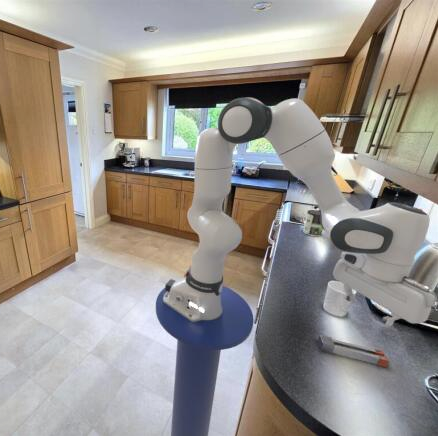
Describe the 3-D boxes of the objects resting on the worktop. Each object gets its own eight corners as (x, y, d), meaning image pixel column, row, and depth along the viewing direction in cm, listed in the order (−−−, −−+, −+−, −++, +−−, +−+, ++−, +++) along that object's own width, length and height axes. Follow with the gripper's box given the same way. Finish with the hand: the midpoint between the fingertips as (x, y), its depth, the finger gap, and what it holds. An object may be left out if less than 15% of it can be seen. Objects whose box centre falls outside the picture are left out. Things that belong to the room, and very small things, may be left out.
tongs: (379, 356, 70) (383, 349, 69) (386, 367, 67) (389, 360, 66) (317, 341, 75) (319, 334, 74) (320, 350, 72) (323, 343, 71)
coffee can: (324, 234, 154) (330, 213, 149) (316, 237, 149) (322, 216, 144) (307, 228, 162) (312, 208, 157) (299, 232, 157) (304, 211, 152)
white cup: (337, 320, 83) (346, 296, 80) (316, 305, 90) (322, 283, 87) (353, 315, 86) (362, 291, 82) (331, 301, 93) (338, 279, 89)
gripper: (449, 290, 52) (423, 339, 57) (353, 248, 71) (339, 287, 75) (429, 294, 51) (404, 344, 55) (336, 250, 69) (323, 290, 74)
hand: (366, 311), depth 66 cm, fingers open, 8 cm apart
